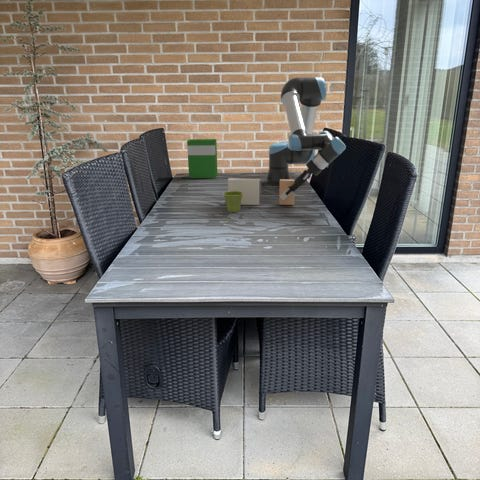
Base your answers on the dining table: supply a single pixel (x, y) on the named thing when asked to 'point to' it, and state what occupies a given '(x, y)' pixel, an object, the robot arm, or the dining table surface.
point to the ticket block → (247, 190)
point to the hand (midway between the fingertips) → (281, 197)
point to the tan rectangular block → (283, 187)
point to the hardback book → (202, 158)
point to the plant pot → (233, 200)
